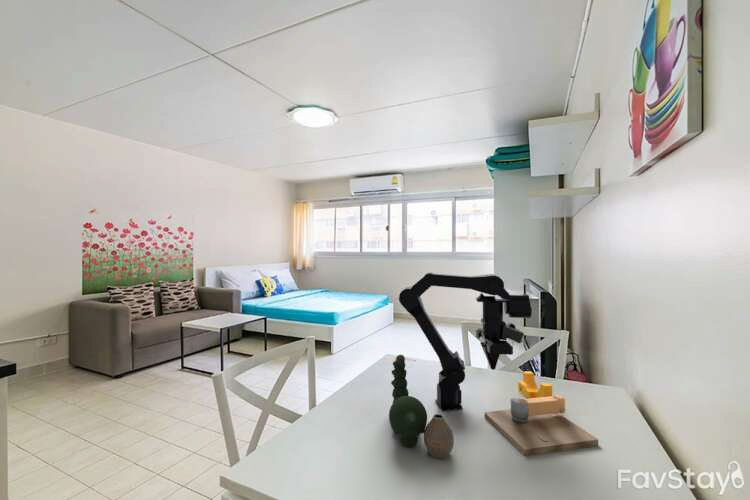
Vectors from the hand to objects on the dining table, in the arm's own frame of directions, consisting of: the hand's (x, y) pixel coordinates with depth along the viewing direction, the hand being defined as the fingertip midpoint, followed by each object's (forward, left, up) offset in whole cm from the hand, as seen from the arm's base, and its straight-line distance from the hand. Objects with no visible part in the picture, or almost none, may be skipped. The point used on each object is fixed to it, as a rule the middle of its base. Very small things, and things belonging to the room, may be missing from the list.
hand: (492, 369), depth 100 cm
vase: (-24, -17, -12) cm, 32 cm away
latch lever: (+8, -10, -9) cm, 15 cm away
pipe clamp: (+17, +4, -12) cm, 21 cm away
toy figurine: (-29, -6, -12) cm, 32 cm away
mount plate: (+5, -13, -12) cm, 18 cm away
